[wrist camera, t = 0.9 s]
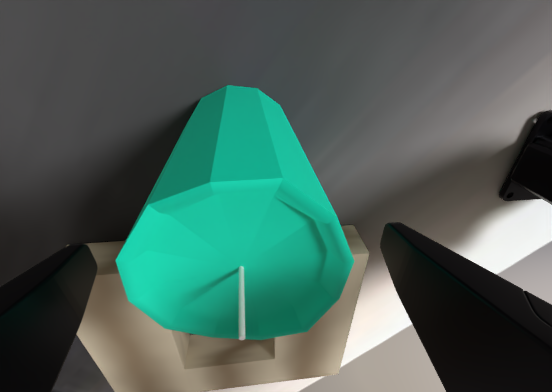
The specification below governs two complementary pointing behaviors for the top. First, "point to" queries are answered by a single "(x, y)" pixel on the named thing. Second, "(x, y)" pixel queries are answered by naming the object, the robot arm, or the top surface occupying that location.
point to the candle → (236, 228)
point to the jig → (206, 339)
